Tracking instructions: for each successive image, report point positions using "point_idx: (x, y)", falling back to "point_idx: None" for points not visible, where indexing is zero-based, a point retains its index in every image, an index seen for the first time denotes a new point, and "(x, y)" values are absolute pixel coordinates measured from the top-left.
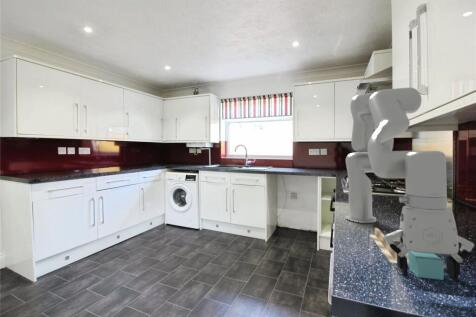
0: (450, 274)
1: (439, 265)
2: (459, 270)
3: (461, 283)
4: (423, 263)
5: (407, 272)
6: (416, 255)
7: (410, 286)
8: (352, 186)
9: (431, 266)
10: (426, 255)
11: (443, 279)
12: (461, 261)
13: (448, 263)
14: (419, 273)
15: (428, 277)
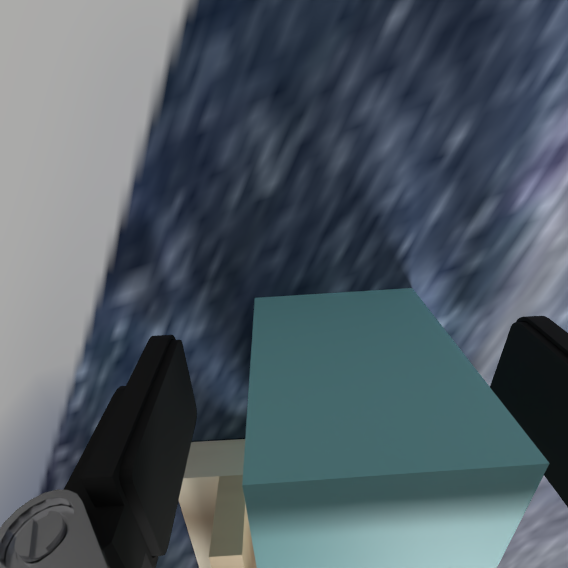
0: (185, 385)
1: (284, 420)
2: (106, 413)
3: (130, 364)
4: (444, 414)
5: (525, 325)
6: (497, 520)
7: (495, 227)
8: None
9: (360, 397)
10: (372, 545)
11: (254, 327)
12: (26, 512)
13: (170, 482)
14: (434, 333)
15: (359, 321)
